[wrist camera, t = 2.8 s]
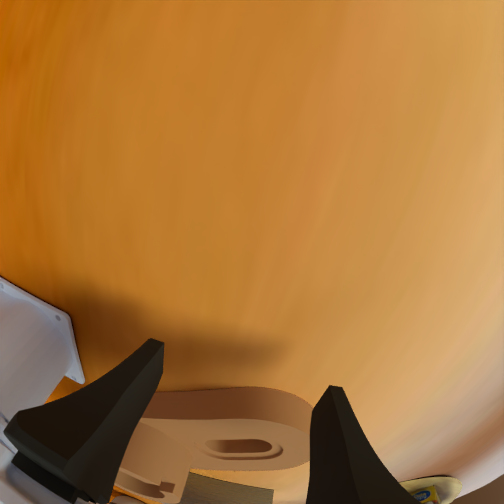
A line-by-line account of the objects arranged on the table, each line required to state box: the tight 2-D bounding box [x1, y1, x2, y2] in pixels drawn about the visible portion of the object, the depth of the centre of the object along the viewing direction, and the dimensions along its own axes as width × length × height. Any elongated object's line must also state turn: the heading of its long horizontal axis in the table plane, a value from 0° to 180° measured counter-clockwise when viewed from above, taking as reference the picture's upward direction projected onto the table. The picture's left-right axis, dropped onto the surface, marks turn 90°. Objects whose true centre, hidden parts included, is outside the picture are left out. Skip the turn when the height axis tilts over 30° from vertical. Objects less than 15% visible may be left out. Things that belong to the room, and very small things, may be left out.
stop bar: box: [161, 472, 274, 504], centre depth 24 cm, size 17×4×5 cm, turn 77°
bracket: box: [114, 387, 313, 504], centre depth 17 cm, size 18×8×7 cm, turn 110°
